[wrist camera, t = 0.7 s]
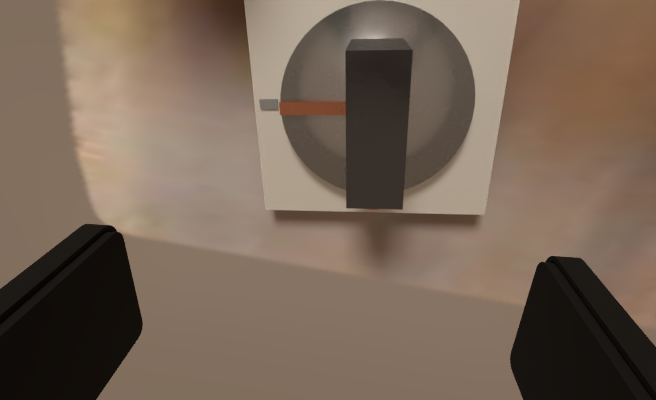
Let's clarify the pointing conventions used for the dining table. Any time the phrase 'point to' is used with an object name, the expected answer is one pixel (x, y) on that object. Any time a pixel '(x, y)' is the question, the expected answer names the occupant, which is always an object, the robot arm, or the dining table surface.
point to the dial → (377, 100)
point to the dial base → (442, 188)
